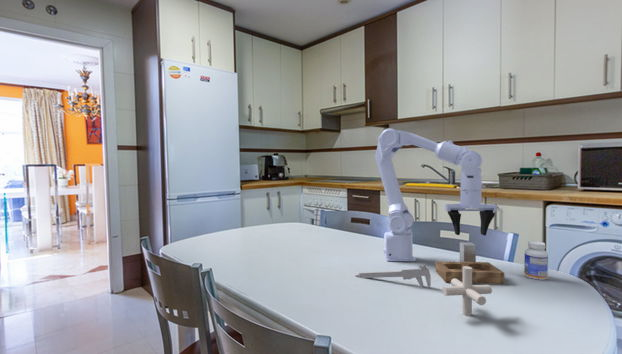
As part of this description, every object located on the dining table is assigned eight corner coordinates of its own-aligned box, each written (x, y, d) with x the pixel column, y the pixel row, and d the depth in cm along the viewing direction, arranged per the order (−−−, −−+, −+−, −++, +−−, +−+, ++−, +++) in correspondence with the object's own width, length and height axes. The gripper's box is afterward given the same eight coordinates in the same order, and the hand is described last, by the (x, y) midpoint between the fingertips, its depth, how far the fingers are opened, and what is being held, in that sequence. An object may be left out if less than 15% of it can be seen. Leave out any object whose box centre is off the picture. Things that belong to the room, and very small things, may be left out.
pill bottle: (524, 272, 92) (524, 239, 92) (547, 275, 89) (548, 241, 89) (523, 277, 88) (524, 243, 88) (548, 281, 85) (548, 246, 84)
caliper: (430, 288, 82) (430, 264, 82) (430, 289, 81) (430, 265, 81) (356, 276, 91) (355, 254, 91) (354, 277, 90) (354, 255, 90)
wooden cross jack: (433, 304, 72) (433, 261, 71) (475, 302, 73) (475, 259, 72) (457, 327, 62) (457, 276, 61) (505, 324, 63) (505, 274, 62)
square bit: (463, 267, 97) (464, 245, 97) (459, 263, 101) (459, 242, 101) (475, 267, 97) (475, 245, 97) (470, 264, 100) (471, 242, 100)
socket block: (445, 282, 85) (445, 271, 85) (435, 271, 94) (435, 261, 94) (504, 283, 84) (504, 272, 84) (488, 272, 93) (488, 262, 93)
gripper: (450, 191, 93) (450, 237, 93) (502, 191, 91) (501, 237, 92) (443, 189, 100) (442, 232, 100) (491, 189, 98) (490, 232, 99)
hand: (470, 234), depth 96 cm, fingers open, 7 cm apart
